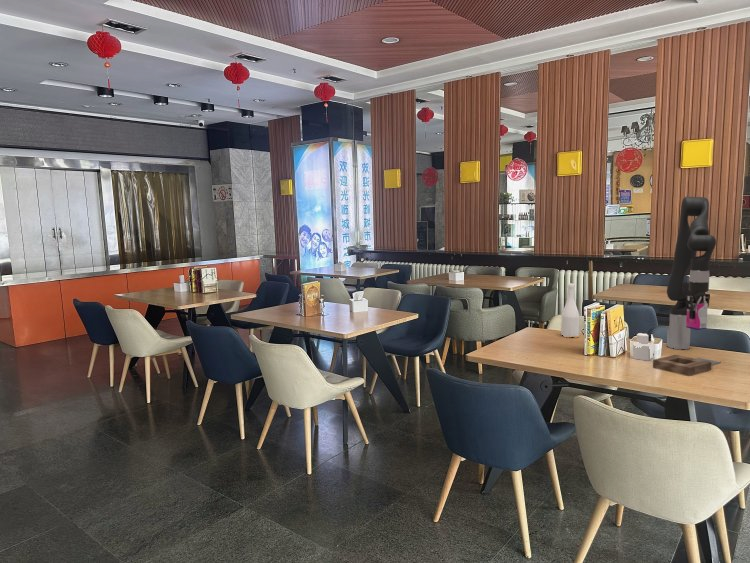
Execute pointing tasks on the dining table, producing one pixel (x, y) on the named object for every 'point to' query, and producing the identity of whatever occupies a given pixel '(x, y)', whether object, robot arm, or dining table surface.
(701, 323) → the supplement box
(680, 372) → the frame
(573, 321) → the wine bottle
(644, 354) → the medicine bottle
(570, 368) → the dining table surface
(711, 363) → the mat
